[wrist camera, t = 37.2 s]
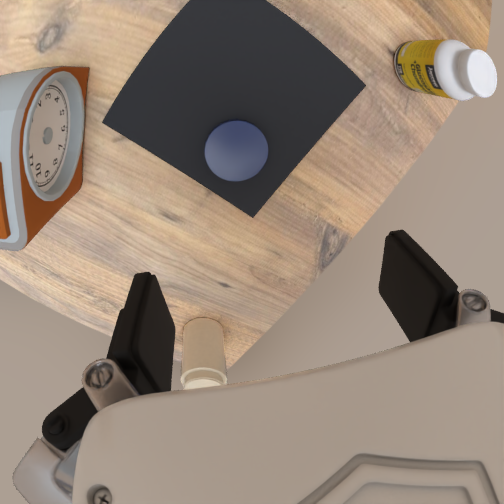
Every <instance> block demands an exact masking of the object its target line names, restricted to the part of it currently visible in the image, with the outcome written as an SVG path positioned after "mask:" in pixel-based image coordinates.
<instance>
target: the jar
mask: <svg viewBox="0 0 504 504" xmlns="http://www.w3.org/2000/svg"><path fill="white" fill-rule="evenodd" d="M181 383H182V385H183V386H184V390H186V389H195V388H203V387H211V386H219V385H226V383H227V372H226V358H225V344H224V331H223V327H222V326H221V325H220V324H219V323H218V322H217V321H215V320H213V319H209V318H196V319H193V320H191V321H189V322H188V323H187V324H186V325H185V327H184V329H183V343H182V360H181Z"/></svg>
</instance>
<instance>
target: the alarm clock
mask: <svg viewBox="0 0 504 504" xmlns="http://www.w3.org/2000/svg"><path fill="white" fill-rule="evenodd" d="M88 72H89V67H75V66H56V67H48V68H40V69H34V70H27V71H21V72H16V73H11V74H6V75H1V76H0V249H3V250H10V251H19V250H22V249H24V248H25V247H26V246H27V244H28V243H29V242H30V241H31V240H32V239H33V238H34V236H35V235H36V234H37V233H38V232H39V231H40V230H41V229H42V228H43V226H44V225H45V224H46V223H47V222H48V221H49V220H50V219H51V218H52V217H53V216H54V215H55V214H56V213H57V212H58V211H59V210H60V209H61V208H62V207H63V206H64V205H65V204H66V203H67V202H68V201H69V200H70V199H71V198H72V197H73V196H74V195H75V194H76V193H77V192H78V191H79V189H80V188H81V185H82V146H83V132H84V109H85V98H86V88H87V80H88Z"/></svg>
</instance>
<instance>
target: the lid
mask: <svg viewBox="0 0 504 504" xmlns="http://www.w3.org/2000/svg"><path fill="white" fill-rule="evenodd" d="M205 143H206V144H205V148H204V152H205V159H206V162H207V165H208V167H209V168H210V169H211V171H212V172H213V173H214V174H215V175H217V176H218V177H220V178H222V179H224V180H228V181H244V180H247V179H249V178H251V177H253V176H255V175H256V174H257V173H258V172H259V171H260V170H261V169H262V168H263V166H264V165H265V163H266V160H267V157H268V143H267V141H266V138H265V135H264V134H263V133H262V132H261V131H260V129H259V128H257V127H256V126H255V125H254V124H253V123H250V122H248V121H246V120H241V119H238V118H236V119H232V120H229V119H228V120H227V121H224V122H220V124H218V125H217V126H216V127H214V129H213V130H212V131H211V132H210V133H209V134H208V137H207V140H205Z"/></svg>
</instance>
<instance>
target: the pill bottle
mask: <svg viewBox="0 0 504 504" xmlns="http://www.w3.org/2000/svg"><path fill="white" fill-rule="evenodd" d="M394 65H395V70H396V73H397V75H398V77H399V79H400V80H401V82H402V83H403V84H404V85H405V86H406V87H407V88H409V89H411V90H413V91H416V92H421V93H426V94H431V95H436V96H441V97H446V98H450V99H455V100H460V101H465V100H468V99H471V98H472V97H474V96H479V97H483V98H486V97H489V96H491V95H492V94H493V93H494V91H495V89H496V85H497V73H496V69H495V66H494V64H493V61H492V60H491V58H490V57H489V56H488V54H487V53H485V52H484V51H482V50H478V49H470V48H469V47H468V46H467V45H465V44H464V43H462V42H460V41H457V40H421V41H409V42H406V43H404V44H402V45H401V46H400V47H399V48H398V49H397V51H396V54H395V58H394Z"/></svg>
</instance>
